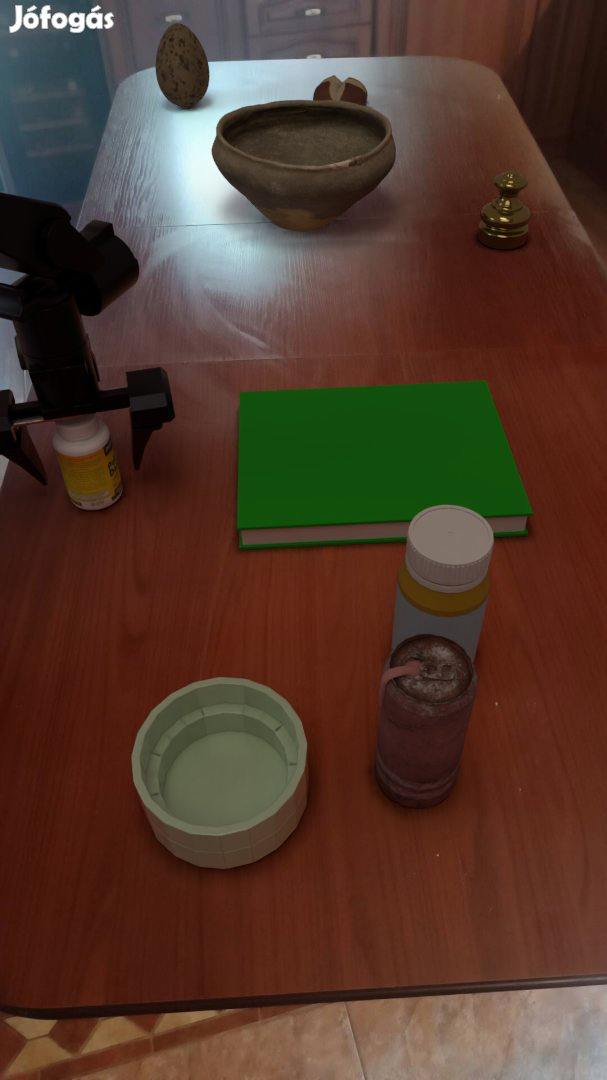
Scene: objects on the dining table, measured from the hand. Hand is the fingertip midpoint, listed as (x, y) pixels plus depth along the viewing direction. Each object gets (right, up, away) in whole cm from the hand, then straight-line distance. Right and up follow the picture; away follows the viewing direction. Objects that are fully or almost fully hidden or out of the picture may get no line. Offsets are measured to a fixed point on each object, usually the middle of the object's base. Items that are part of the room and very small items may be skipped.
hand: (91, 474), depth 82 cm
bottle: (+33, -17, -13) cm, 39 cm away
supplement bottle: (0, -2, +2) cm, 3 cm away
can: (+30, -25, -21) cm, 44 cm away
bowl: (+22, +45, +47) cm, 69 cm away
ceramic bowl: (+16, -26, -21) cm, 37 cm away
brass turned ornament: (+52, +39, +40) cm, 76 cm away
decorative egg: (-3, +84, +85) cm, 120 cm away
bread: (+30, +83, +83) cm, 121 cm away
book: (+29, +1, +4) cm, 29 cm away
